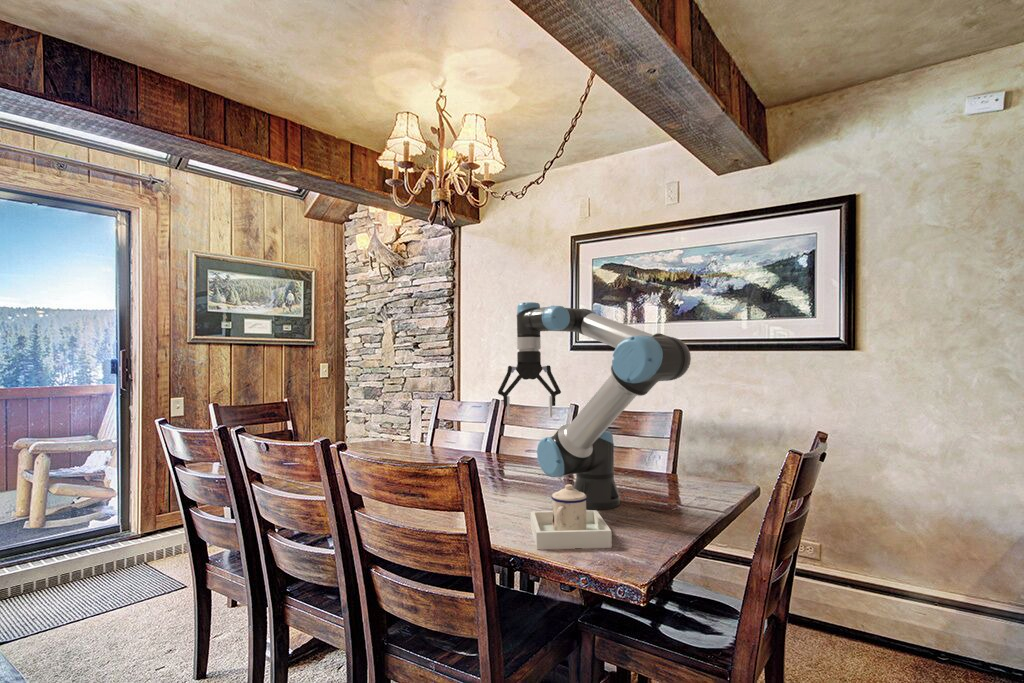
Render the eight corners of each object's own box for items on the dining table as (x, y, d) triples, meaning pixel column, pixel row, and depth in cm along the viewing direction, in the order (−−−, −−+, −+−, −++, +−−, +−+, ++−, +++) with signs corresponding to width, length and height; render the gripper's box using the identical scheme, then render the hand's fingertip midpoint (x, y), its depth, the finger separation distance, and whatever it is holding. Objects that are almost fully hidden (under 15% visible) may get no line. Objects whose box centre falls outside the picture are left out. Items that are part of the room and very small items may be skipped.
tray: (596, 524, 149) (596, 510, 149) (611, 547, 131) (611, 530, 131) (530, 526, 148) (530, 511, 148) (536, 549, 130) (536, 532, 130)
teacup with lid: (560, 523, 147) (559, 479, 147) (592, 528, 143) (591, 483, 143) (541, 536, 136) (540, 489, 137) (575, 541, 132) (574, 493, 132)
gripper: (565, 350, 181) (566, 414, 180) (490, 351, 180) (490, 415, 179) (569, 350, 173) (569, 417, 173) (490, 350, 172) (490, 418, 171)
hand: (529, 416), depth 176 cm, fingers open, 13 cm apart
